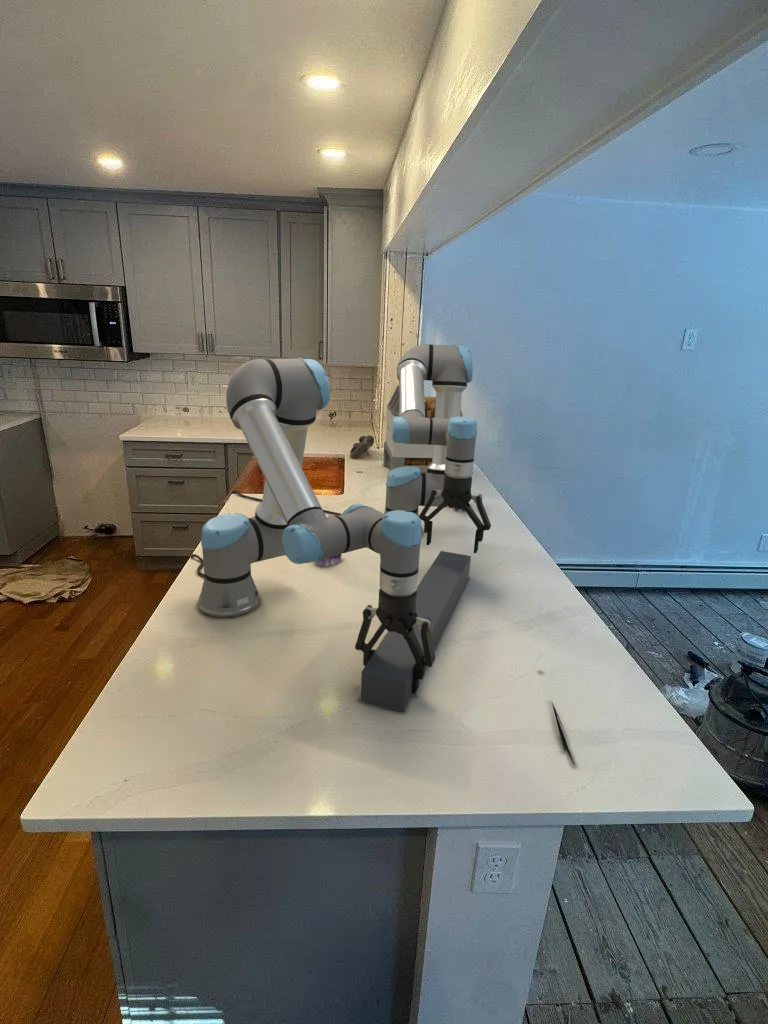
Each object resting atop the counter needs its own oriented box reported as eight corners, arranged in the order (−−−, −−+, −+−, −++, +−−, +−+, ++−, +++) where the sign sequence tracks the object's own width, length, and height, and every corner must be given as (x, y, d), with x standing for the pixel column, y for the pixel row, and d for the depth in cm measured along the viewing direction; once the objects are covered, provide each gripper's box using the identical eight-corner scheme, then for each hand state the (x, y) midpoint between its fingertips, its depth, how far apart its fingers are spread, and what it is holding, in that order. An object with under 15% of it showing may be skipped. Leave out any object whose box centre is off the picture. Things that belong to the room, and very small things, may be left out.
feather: (541, 676, 126) (546, 670, 126) (574, 768, 100) (581, 761, 99) (535, 672, 126) (540, 666, 126) (566, 764, 100) (573, 756, 99)
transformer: (382, 463, 289) (386, 382, 275) (445, 464, 293) (451, 384, 279) (390, 482, 257) (394, 392, 243) (460, 483, 261) (468, 394, 247)
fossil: (350, 441, 314) (371, 426, 309) (360, 454, 317) (382, 440, 312) (343, 455, 294) (366, 439, 289) (355, 469, 297) (378, 453, 292)
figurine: (319, 569, 170) (319, 523, 165) (307, 556, 178) (307, 511, 173) (348, 564, 174) (349, 519, 169) (335, 552, 182) (336, 508, 177)
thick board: (439, 572, 172) (440, 550, 170) (468, 577, 170) (471, 555, 167) (360, 700, 114) (361, 671, 112) (403, 712, 112) (405, 682, 109)
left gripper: (339, 586, 111) (337, 682, 119) (448, 609, 105) (439, 709, 112) (353, 571, 118) (351, 663, 126) (456, 591, 111) (447, 687, 119)
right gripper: (410, 472, 154) (405, 544, 161) (502, 484, 146) (493, 560, 153) (417, 466, 161) (413, 536, 168) (506, 477, 153) (498, 550, 160)
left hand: (392, 684), depth 119 cm, fingers closed on thick board, 9 cm apart
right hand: (451, 547), depth 160 cm, fingers open, 13 cm apart
